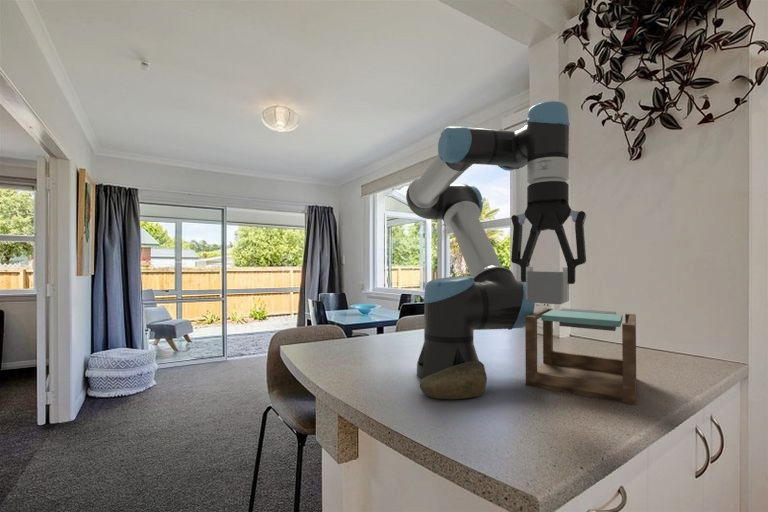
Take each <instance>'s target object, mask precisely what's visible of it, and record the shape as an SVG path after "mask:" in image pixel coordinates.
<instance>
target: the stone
mask: <svg viewBox="0 0 768 512" xmlns="http://www.w3.org/2000/svg"><path fill="white" fill-rule="evenodd" d="M487 378H488V377H487V372H486V368H485V365H484V364H483V362H482V361H480V360H479V361H471V362H466V363H462V364H458V365H455V366H452V367H449V368H446V369H443V370H441V371H439V372H436V373H434V374H432V375H429V376H427V377H425V378H423V379H422V378H421V380H420V382H419V385H418V386H419V388H420V390H421V391H422V394H424V395H426V396H428V397H431V398H433V399H437V400H463V399H464V400H465V399H471V398H476V397H478V396H479V397H480V396H481V395H482V394H484V393H485V390H486V388H487Z"/></svg>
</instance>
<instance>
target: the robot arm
mask: <svg viewBox="0 0 768 512" xmlns="http://www.w3.org/2000/svg"><path fill="white" fill-rule="evenodd" d="M526 123H527V124H526V125H524V127H522V128H520V129H519V130H515V131H514V130H502V129H488V128H479V127H477V128H476V127H467V126H464V125H461V126H447V127H444V128H443V130H442V131H441V132H440V137H439V138H438V139H439V140H438V142H437V143H438V144H437V145H438V146H437V153H438V154H437V156H436V157H435V158H434V159H433V161H432V162H431V163H430V164H429V166H428V167H427V168H426V169H425V171H424V172H423V173H422V175H421V176H420V177H417V178H416V179H414V180H412V181H411V183H410V184H409V185H408V187H407V190H406V194H405V199H406V203H407V206H408V207H409V209H410V210H411V211H412V213H414V215H416V216H418V217H419V218H423V219H426V220H438V221H439V220H440V221H441V220H442V221H443V223H444V225H445V227H446V228H447V229H449V230H451V231H452V232H453V234H454V238H455V240H456V243H457V245H458V248H459V249H460V252H461V256H462V258H463V260H464V262H465V265H466V268H467V271H468V273H469V275H461V276H460V275H459V276H450V277H449V276H448V277H442V278H436V279H432V280H429V281H428V282H427V283H426V284H425V286H424V296H423V297H424V298H423V304H424V306H423V308H424V309H423V310H424V311H423V312H424V316H423V318H424V321H423V324H424V326H423V327H424V328H423V330H424V331H423V332H424V334H423V335H424V336H423V337H424V338H423V344H422V347H421V351H420V353H419V357H418V359H417V363H416V375H417V376H418V377H419V378H421V380H422V379H423V378H425V377H427V376H429V375H432V374H434V373H436V372H439V371H441V370H443V369H446V368H449V367H452V366H455V365H458V364H462V363H466V362H471V361H480V360H479V356H478V353H477V350H476V347H475V344H474V343H475V342H474V331H476V330H477V331H481V330H482V331H483V330H484V331H485V330H508V331H509V330H513V329H514V330H515V329H522V328H524V327H525V316H528V315H530V314H532V313H535V305H536V303H531V302H527V271H534V267H533V266H530V264H531V263H530V262H531V260H532V258H533V253H534V251H535V248H536V245H537V242H538V240H539V236H540V235H541V232H543V231H547V230H550V231H554V232H555V234H556V237H557V239H558V243H559V246H560V249H561V251H562V254H563V256H564V260H565V262H566V266H567V267H566V266H565V267H562V272H563V302H565V303H568V302H569V301H570V285H575V283H576V268H577V266H581V265H584V264H586V262H587V256H586V255H587V254H586V240H585V239H586V237H585V229H584V228H585V227H584V226H585V222H586V218H587V213H586V212H585V211H583V210H580V211H579V210H577V211H576V210H573V209H572V208H571V207H570V204H569V203H570V201H569V200H570V199H569V197H570V196H569V195H570V194H569V191H570V190H569V187H570V186H569V184H568V182H567V181H568V180H569V179H570V178H569V172H570V170H569V167H570V166H569V163H570V161H569V160H570V159H569V153H570V152H569V151H570V150H569V148H570V145H569V141H570V140H569V139H570V138H569V137H570V136H569V135H570V118H569V108H568V106H567V104H566V103H564V102H561V101H557V100H556V101H553V100H551V101H544V102H540V103H537V104H535V105H533V106H531V107H530V108H529V109H528V112H527V117H526ZM472 165H487V166H498V167H499V168H501V169H502V170H503V171H514V170H515V171H516V170H519V169H521V168H523V167H526V169H527V170H526V171H527V175H526V176H527V177H526V182H527V183H528V184H529V185H528V186H527V189H526V190H527V193H526V194H527V196H526V200H527V201H526V203H527V204H526V205H527V206H526V209H525V211H524V212H523V213H520V214H518V215H516V214H513V215H512V216H511V217H510V218H511V221H512V225H513V228H512V229H513V231H512V232H513V233H512V243H511V244H512V245H511V256H510V257H511V259H510V260H511V263H513V264H516V265H518V266H519V267H520V281H518V280H516V277H515V275H514V274H513V272H512V270H511V269H509V268H507V267H504V266H503V264H502V263H501V261H500V259H499V256H498V255H497V253H496V250H495V248H494V247H493V244H492V243H491V240H490V239H489V236H488V234H487V233H486V230H485V229H484V226H483V225H482V224H483V223H482V222H481V220H480V217H481V214H483V213H482V212H483V207H484V202H483V201H482V200H483V196H482V194H481V192H480V190H479V188H478V187H476V186H474V185H470V184H466V183H461V184H459V183H458V184H457V183H456V184H454V182H455V181H456V180H458V178H459V177H460V176H462V175H463V174H464V173H465V171H467V170H468V169H469V168H470V167H471V166H472ZM570 217H571V221H572V222H574V228H575V229H574V231H575V233H574V234H575V243H576V257H577V258H575V257H574V254H573V252H572V250H571V247H570V243H569V241H568V237H567V235H566V230H565V228H564V226H563V225H564V224H565V223H566V221H567V220H568V219H569V218H570ZM526 220H528V221H529V223H530V224H531V227H530V230H529V236H528V238H527V240H526V241H527V242H526V244H525V248H524V250H523V254H522V255H521V253H522V242H523V241H522V239H523V225H525V222H526ZM521 256H522V257H521Z"/></svg>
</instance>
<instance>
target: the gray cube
mask: <svg viewBox="0 0 768 512" xmlns="http://www.w3.org/2000/svg"><path fill="white" fill-rule="evenodd" d="M527 302H531V303H535V304H545V305H546V304H548V305H550V304H551V305H563V304H565V303H566V302H563V271H547V270H546V271H541V270H536V271H535V270H533V271H527Z"/></svg>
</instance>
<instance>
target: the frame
mask: <svg viewBox="0 0 768 512" xmlns="http://www.w3.org/2000/svg"><path fill="white" fill-rule="evenodd" d="M551 310H554V309H553V308H549V307H548V308H547V307H544V308H542V309H540V310H537V311H534V313H532V314H530V315H528V316H525V328H524V331H525V385H526V386H529V387H535V388H540V389H541V388H542V389H545V390H552V391H558V392H562V393H568V394H573V395H578V396H583V397H584V396H585V397H591V398H596V399H600V400H601V399H602V400H604V401H605V400H606V401H610V402H611V401H612V402H616V403H617V402H618V403H623V404H628V405H634V406H636V403H637V402H636V400H637V399H636V397H637V396H636V395H637V394H636V393H637V332H636V331H637V319H636V317H637V315H636V313H625V315H624V316H625V317H624V318H625V319H624V321H625V322H624V323H623V322H622V323H621V327H622V328H621V329H622V331H621V332H622V333H621V334H622V336H621V337H622V339H621V340H622V341H621V342H622V343H621V344H622V346H621V347H622V351H621V352H622V359H621V358H620V359H619V358H614V357H613V358H611V357H605V356H604V357H603V356H597V355H596V356H595V355H589V354H580V353H573V352H566V351H556V350H554V321H543V320H542V363H541V364H540V365H539V367H538V320H539V319H541V315H543V314H545V313H547V312H549V311H551Z"/></svg>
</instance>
